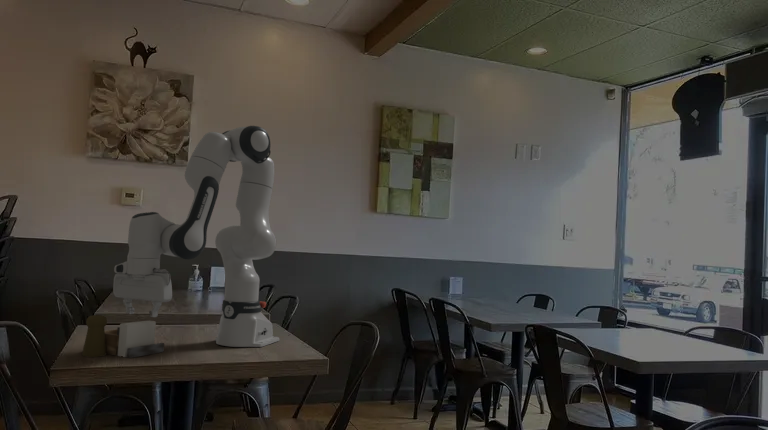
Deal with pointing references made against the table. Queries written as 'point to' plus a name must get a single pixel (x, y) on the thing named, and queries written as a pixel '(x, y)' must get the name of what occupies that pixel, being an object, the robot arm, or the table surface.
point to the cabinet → (112, 348)
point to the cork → (95, 336)
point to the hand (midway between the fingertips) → (141, 315)
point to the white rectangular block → (135, 335)
